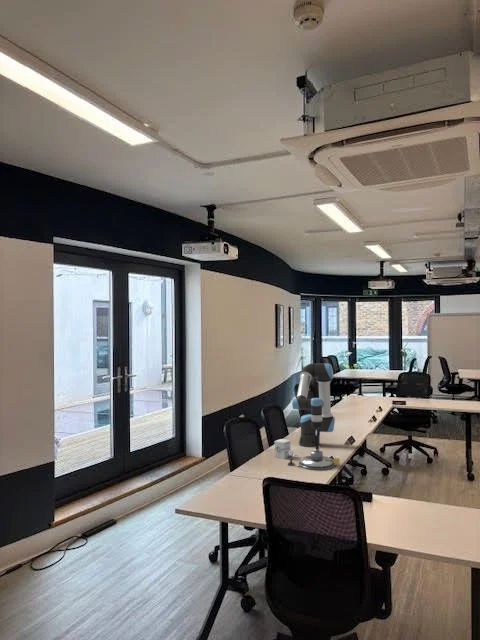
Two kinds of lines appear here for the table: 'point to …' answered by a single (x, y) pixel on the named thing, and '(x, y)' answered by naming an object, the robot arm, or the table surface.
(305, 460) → the turntable
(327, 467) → the base
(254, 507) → the table surface
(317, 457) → the cover
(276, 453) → the ink box
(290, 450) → the dial post
